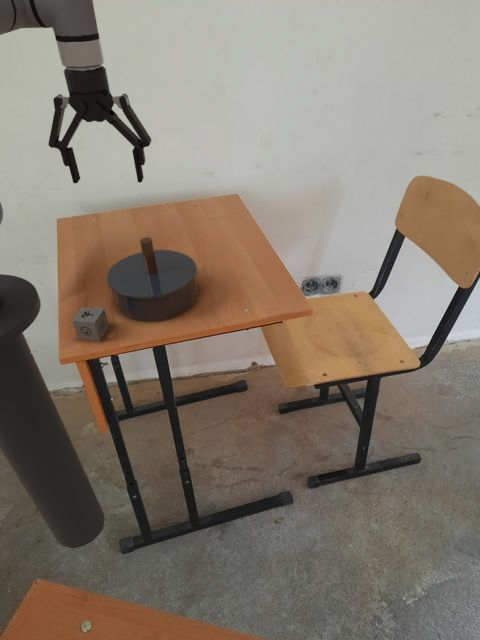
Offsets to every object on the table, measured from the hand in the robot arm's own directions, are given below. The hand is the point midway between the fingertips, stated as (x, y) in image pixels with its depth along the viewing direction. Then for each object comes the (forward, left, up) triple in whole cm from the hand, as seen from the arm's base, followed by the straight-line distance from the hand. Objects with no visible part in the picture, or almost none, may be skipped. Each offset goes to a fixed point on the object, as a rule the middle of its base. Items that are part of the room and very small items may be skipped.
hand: (108, 180), depth 101 cm
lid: (+7, -7, -19) cm, 22 cm away
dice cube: (-5, -20, -26) cm, 33 cm away
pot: (+7, -7, -26) cm, 28 cm away
